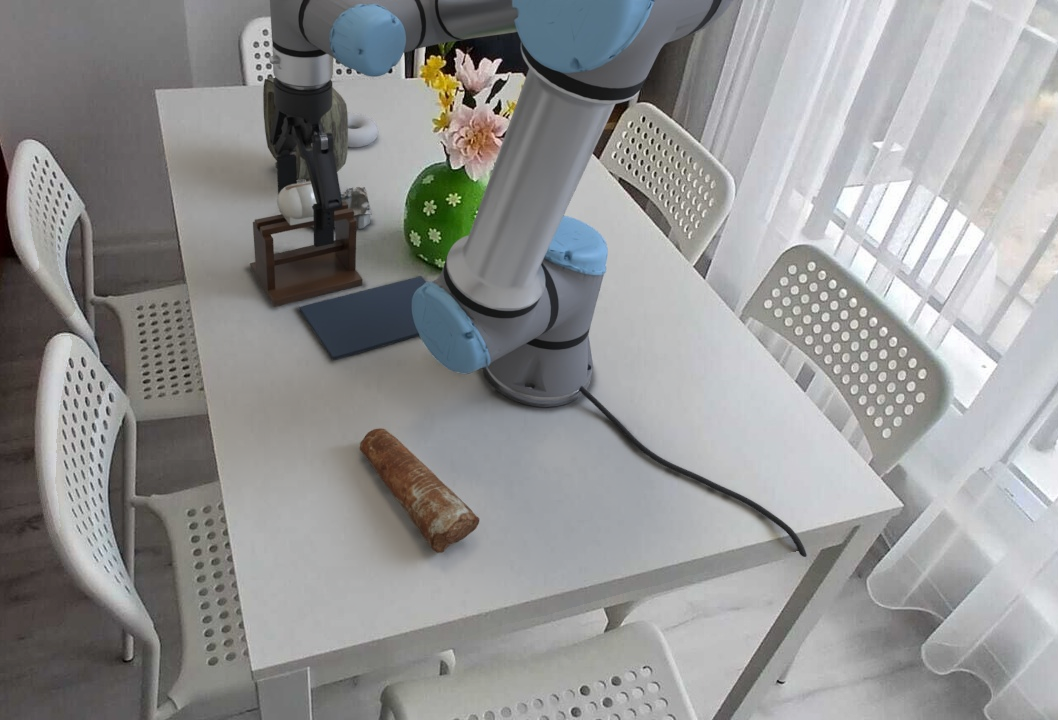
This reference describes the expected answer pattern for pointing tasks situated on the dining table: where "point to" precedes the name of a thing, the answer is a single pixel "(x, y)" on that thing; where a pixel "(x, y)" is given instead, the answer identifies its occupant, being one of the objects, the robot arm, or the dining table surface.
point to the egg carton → (357, 205)
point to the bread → (419, 491)
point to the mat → (364, 318)
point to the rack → (305, 260)
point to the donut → (361, 130)
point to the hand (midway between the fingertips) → (305, 219)
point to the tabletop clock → (331, 122)
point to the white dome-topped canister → (297, 202)
